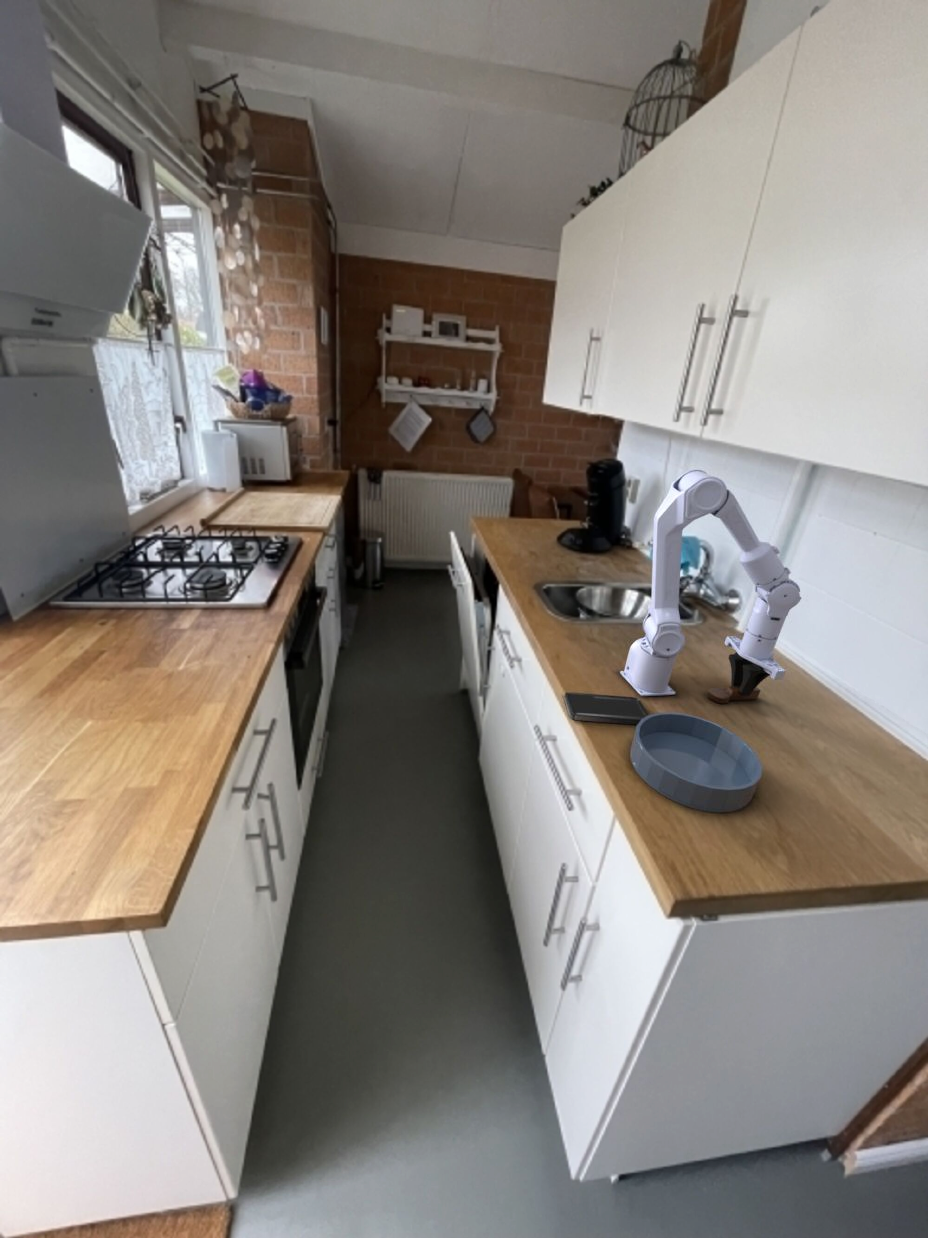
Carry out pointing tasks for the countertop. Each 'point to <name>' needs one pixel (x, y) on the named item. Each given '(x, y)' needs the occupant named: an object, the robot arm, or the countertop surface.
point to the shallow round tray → (695, 762)
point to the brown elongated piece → (730, 694)
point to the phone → (604, 708)
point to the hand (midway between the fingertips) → (740, 691)
